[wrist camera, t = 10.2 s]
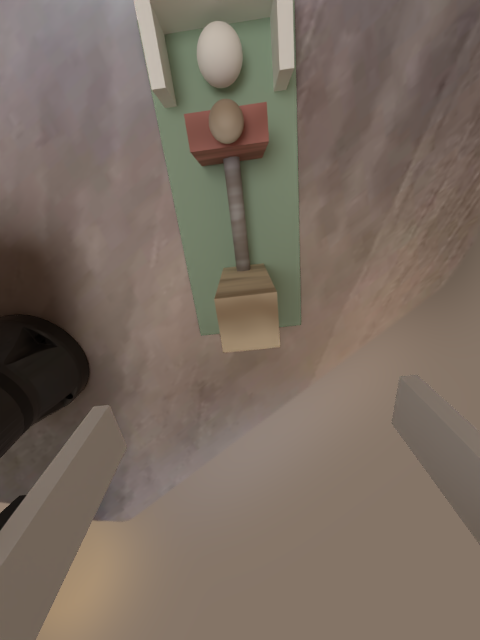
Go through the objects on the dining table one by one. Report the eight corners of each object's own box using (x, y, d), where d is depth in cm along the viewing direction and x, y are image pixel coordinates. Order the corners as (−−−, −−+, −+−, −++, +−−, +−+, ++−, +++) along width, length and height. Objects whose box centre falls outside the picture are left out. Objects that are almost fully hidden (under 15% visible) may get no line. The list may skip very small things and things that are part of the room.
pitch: (300, 324, 34) (301, 324, 34) (201, 334, 35) (200, 335, 35) (293, -4, 22) (294, -7, 21) (138, 22, 22) (136, 20, 22)
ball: (245, 78, 21) (240, 6, 19) (199, 85, 21) (188, 15, 19) (244, 89, 24) (239, 29, 22) (204, 95, 24) (195, 36, 22)
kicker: (271, 300, 32) (288, 346, 21) (223, 306, 33) (215, 353, 22) (259, 129, 25) (275, 63, 14) (197, 138, 25) (165, 80, 14)
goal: (286, 90, 24) (294, 67, 20) (164, 108, 24) (151, 89, 21) (282, -5, 21) (291, -50, 18) (147, 18, 22) (129, -21, 18)
